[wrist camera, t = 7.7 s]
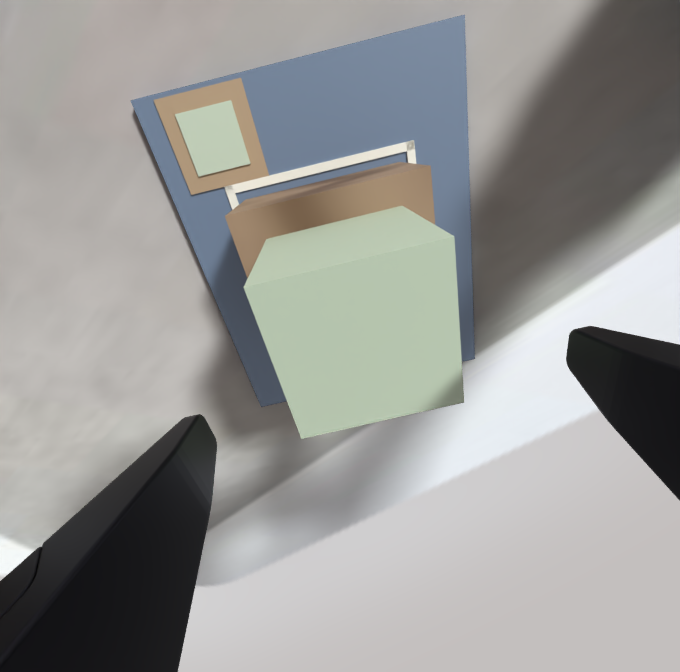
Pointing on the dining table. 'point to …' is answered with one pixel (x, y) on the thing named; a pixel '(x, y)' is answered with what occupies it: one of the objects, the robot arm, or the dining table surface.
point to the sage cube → (360, 319)
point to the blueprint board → (315, 151)
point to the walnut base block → (329, 204)
